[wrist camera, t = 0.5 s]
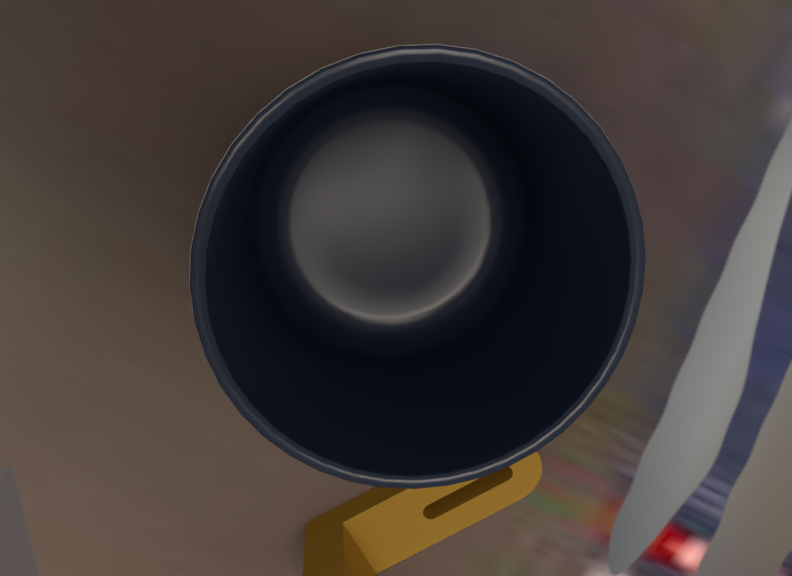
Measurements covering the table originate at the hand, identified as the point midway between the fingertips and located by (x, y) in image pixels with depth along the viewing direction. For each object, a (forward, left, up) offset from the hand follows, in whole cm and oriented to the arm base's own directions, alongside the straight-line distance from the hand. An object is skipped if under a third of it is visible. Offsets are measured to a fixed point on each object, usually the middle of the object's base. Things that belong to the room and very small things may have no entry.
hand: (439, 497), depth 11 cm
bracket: (+18, 0, -27) cm, 32 cm away
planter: (0, +1, -26) cm, 26 cm away
